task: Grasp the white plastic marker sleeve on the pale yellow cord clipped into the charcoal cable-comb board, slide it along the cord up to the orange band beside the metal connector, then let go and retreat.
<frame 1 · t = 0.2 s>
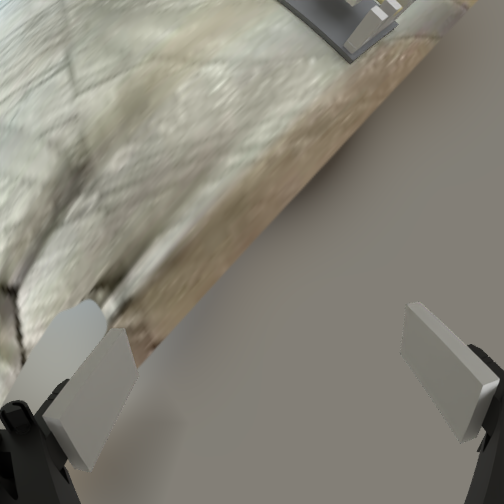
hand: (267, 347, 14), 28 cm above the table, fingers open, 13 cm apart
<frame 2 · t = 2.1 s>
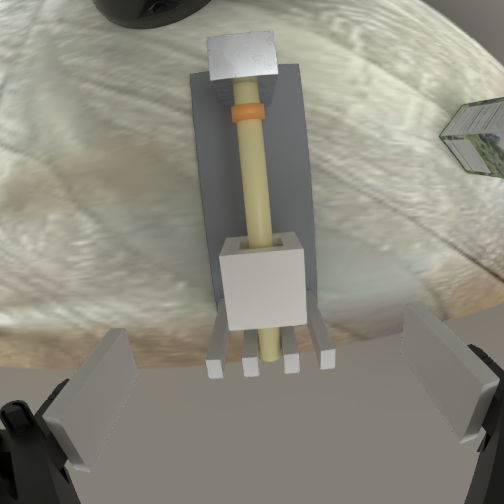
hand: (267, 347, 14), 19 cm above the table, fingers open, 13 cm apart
cable comb board: (256, 192, 31), on the table
syrup box: (464, 139, 29), on the table
marker sleeve: (264, 278, 22), point 10 cm above the table, slide at 0.0 cm
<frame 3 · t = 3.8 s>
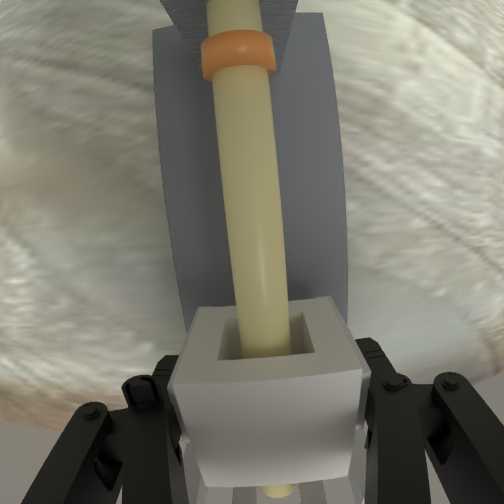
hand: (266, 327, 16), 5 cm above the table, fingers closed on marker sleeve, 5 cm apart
cable comb board: (256, 213, 19), on the table
marker sleeve: (270, 393, 11), point 10 cm above the table, slide at 0.0 cm, touching gripper
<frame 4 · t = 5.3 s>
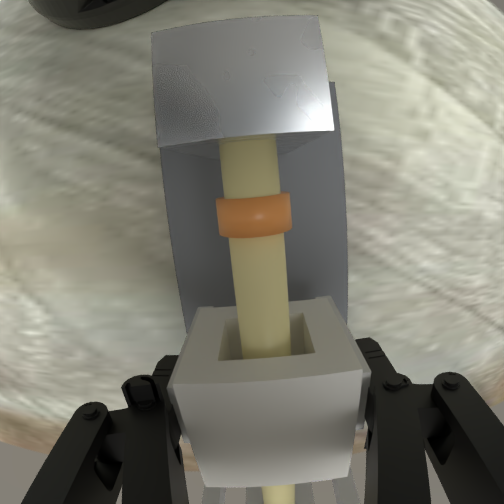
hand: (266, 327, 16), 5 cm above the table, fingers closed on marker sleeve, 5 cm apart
cable comb board: (263, 287, 20), on the table
marker sleeve: (270, 393, 11), point 10 cm above the table, slide at 4.6 cm, touching gripper
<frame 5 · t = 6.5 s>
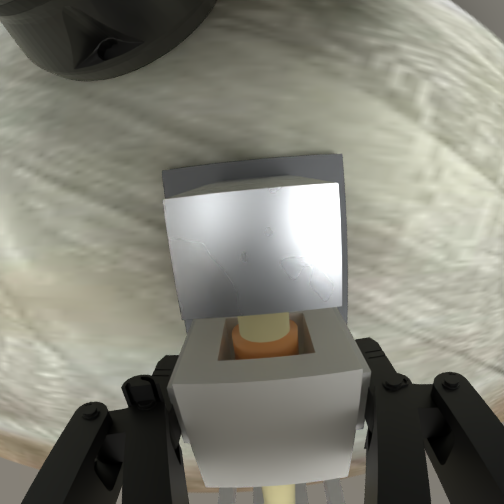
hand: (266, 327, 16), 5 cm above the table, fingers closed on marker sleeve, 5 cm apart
cable comb board: (268, 344, 21), on the table
marker sleeve: (270, 393, 11), point 10 cm above the table, slide at 8.8 cm, touching gripper
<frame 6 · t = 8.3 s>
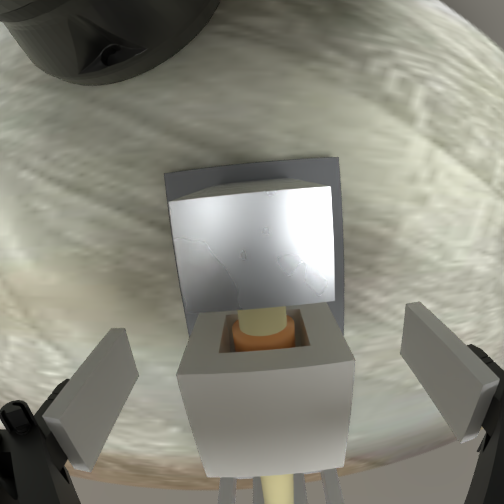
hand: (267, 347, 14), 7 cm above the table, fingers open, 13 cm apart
cable comb board: (267, 342, 22), on the table
marker sleeve: (268, 386, 11), point 10 cm above the table, slide at 8.8 cm
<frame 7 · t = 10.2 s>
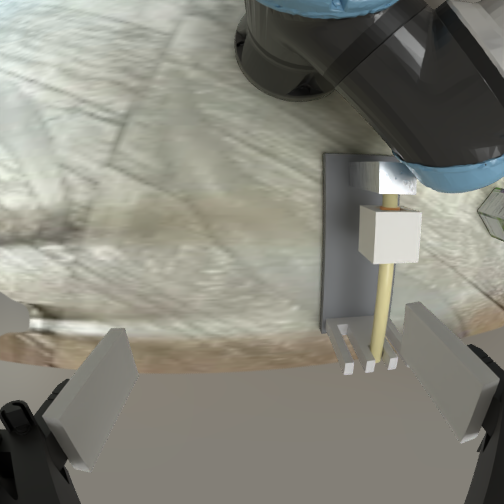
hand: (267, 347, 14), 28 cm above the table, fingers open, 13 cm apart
cable comb board: (359, 245, 42), on the table
syrup box: (492, 212, 40), on the table
marker sleeve: (388, 232, 31), point 10 cm above the table, slide at 8.8 cm
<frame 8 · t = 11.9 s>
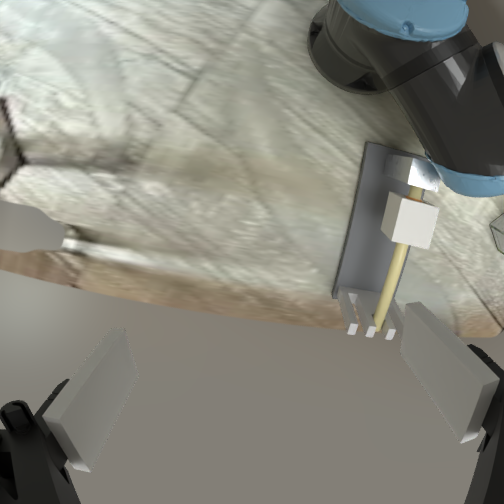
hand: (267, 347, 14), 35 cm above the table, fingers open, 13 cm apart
cable comb board: (380, 228, 46), on the table
syrup box: (503, 229, 43), on the table
marker sleeve: (409, 219, 35), point 10 cm above the table, slide at 8.8 cm
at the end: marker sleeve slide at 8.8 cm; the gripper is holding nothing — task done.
